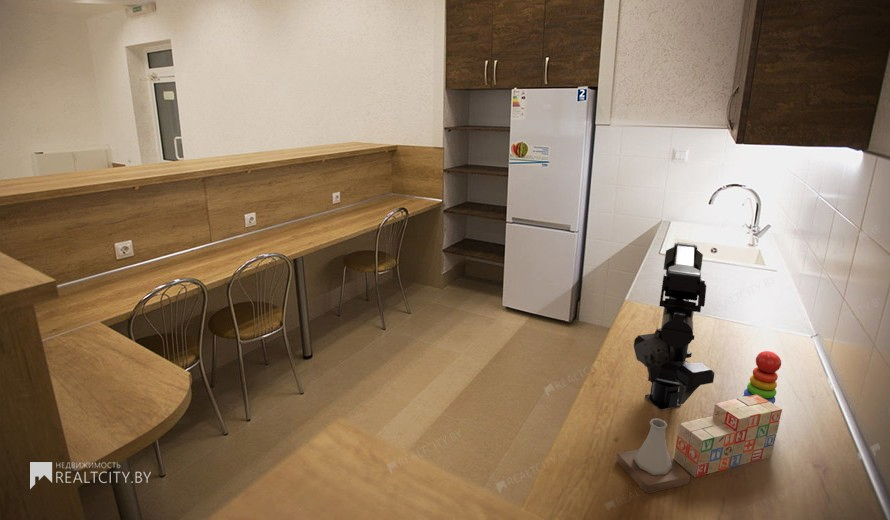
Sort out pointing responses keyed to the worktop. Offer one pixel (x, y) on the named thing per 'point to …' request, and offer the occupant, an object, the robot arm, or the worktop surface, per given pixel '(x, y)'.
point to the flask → (654, 450)
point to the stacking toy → (764, 376)
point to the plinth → (648, 480)
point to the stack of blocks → (728, 436)
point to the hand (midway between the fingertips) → (666, 392)
